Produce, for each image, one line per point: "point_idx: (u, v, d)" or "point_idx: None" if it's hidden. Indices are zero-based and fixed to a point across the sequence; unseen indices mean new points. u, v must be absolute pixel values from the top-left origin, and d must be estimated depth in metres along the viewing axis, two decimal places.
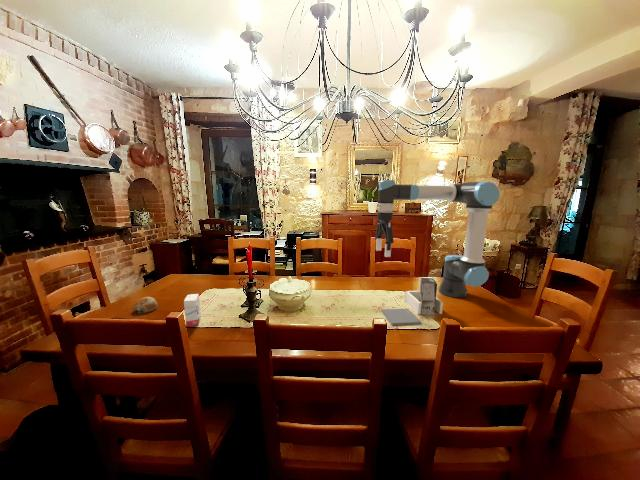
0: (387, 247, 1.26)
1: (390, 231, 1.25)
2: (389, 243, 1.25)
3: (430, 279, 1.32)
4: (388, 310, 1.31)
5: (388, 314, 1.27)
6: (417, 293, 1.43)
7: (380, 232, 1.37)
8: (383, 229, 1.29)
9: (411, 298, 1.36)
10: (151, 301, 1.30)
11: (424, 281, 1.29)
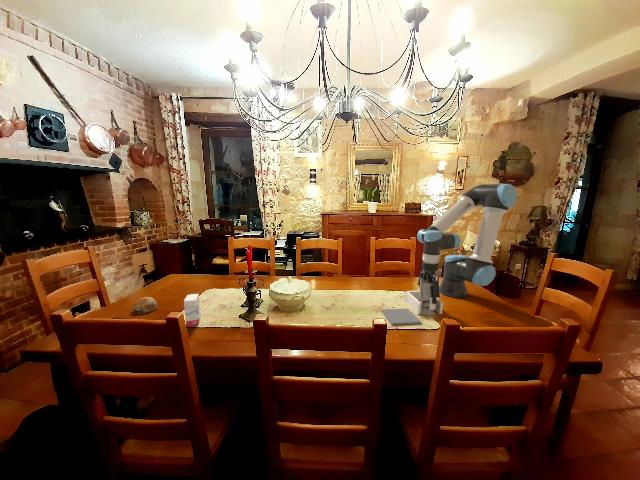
0: (432, 300, 1.26)
1: (437, 285, 1.24)
2: None
3: None
4: (388, 310, 1.31)
5: (388, 314, 1.27)
6: (417, 293, 1.43)
7: None
8: (429, 281, 1.27)
9: (411, 298, 1.36)
10: (151, 301, 1.29)
11: (424, 281, 1.29)
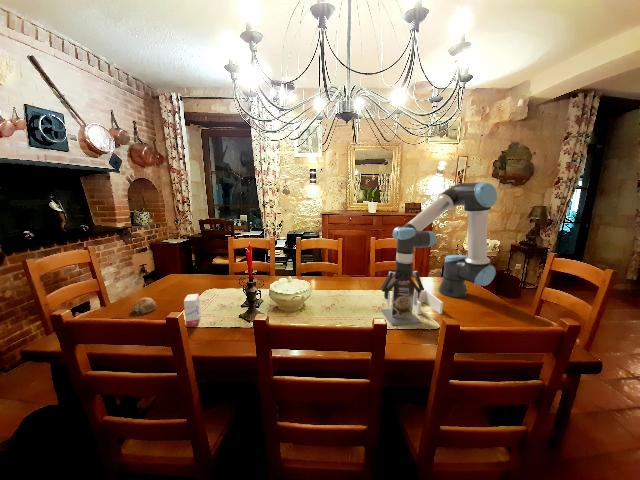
0: None
1: (387, 280, 1.22)
2: None
3: (407, 284, 1.22)
4: (388, 310, 1.31)
5: (388, 314, 1.27)
6: None
7: (411, 283, 1.24)
8: (394, 277, 1.24)
9: None
10: (149, 302, 1.29)
11: None
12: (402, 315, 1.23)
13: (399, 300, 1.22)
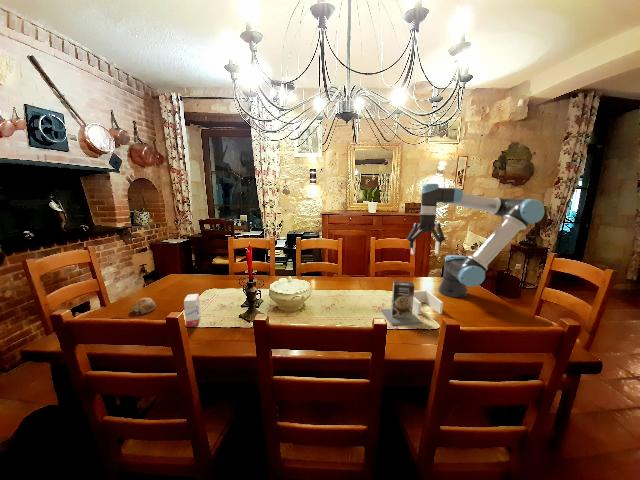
0: None
1: (412, 230, 1.38)
2: None
3: (407, 284, 1.22)
4: (388, 310, 1.31)
5: (388, 314, 1.27)
6: (417, 293, 1.43)
7: (433, 234, 1.40)
8: (418, 229, 1.40)
9: None
10: (149, 302, 1.29)
11: (398, 281, 1.26)
12: (402, 315, 1.23)
13: (399, 300, 1.22)
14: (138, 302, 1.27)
